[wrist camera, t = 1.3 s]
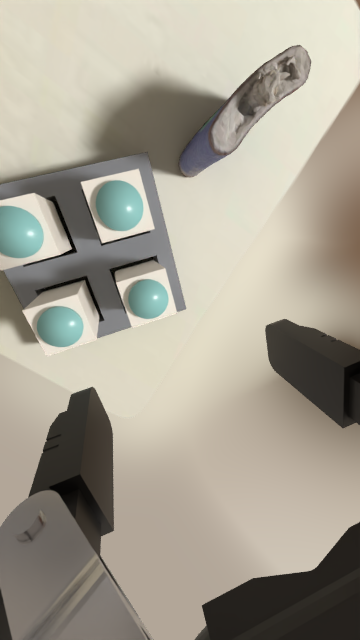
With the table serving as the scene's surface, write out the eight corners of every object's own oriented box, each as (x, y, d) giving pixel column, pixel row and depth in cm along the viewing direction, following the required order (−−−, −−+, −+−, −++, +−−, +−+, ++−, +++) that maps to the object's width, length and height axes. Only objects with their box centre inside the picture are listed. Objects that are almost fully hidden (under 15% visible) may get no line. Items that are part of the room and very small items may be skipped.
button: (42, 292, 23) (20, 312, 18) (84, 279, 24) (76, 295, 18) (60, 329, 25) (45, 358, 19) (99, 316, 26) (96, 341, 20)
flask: (188, 183, 26) (234, 155, 16) (169, 158, 25) (208, 110, 15) (252, 120, 26) (340, 52, 16) (237, 91, 24) (322, -2, 15)
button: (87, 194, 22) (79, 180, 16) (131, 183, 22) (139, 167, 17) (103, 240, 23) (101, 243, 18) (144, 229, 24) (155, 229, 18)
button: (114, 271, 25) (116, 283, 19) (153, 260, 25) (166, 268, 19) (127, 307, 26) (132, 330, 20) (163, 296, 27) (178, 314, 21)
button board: (-20, 197, 22) (-38, 192, 19) (143, 160, 24) (147, 152, 21) (54, 342, 28) (47, 354, 25) (179, 301, 30) (186, 308, 27)
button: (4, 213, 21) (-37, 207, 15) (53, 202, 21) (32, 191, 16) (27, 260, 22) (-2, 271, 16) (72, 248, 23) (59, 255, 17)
